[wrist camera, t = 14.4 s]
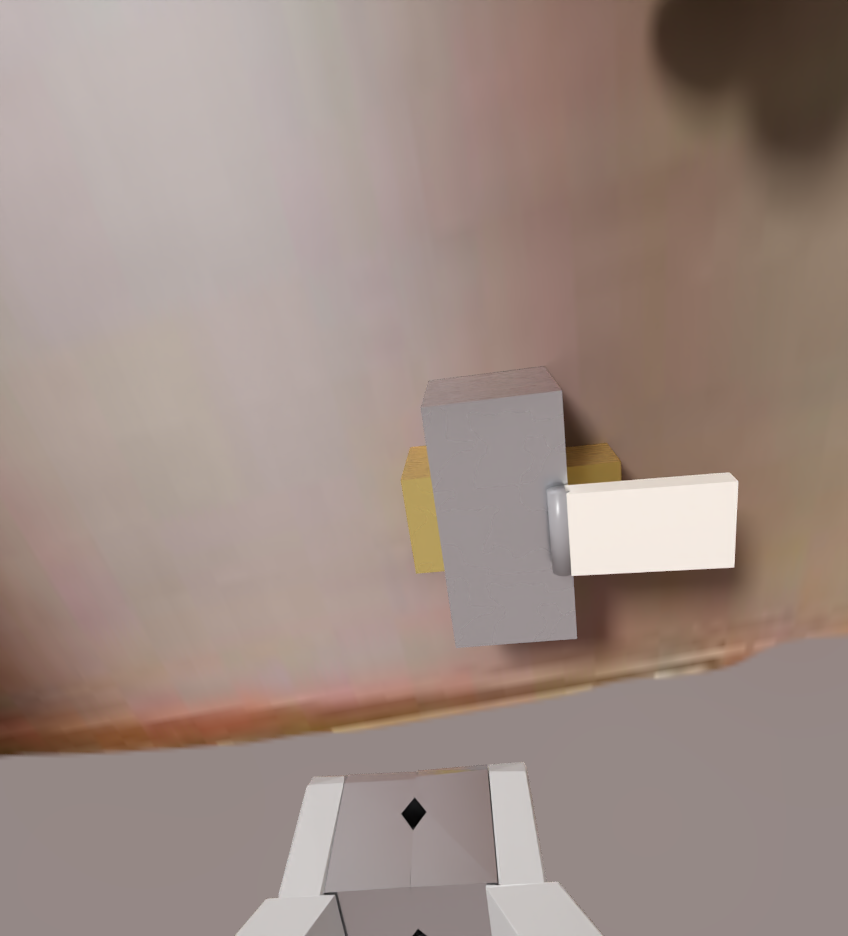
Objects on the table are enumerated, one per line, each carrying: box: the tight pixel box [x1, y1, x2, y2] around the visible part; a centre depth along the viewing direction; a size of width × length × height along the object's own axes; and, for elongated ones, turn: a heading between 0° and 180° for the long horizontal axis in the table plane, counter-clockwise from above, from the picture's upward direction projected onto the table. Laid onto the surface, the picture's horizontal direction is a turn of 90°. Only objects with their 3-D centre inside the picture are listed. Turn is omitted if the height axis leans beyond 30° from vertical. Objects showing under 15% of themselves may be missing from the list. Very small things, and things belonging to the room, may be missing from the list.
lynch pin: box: [401, 443, 621, 574], centre depth 29 cm, size 10×5×5 cm, turn 98°
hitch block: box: [421, 366, 577, 648], centre depth 29 cm, size 6×12×6 cm, turn 8°
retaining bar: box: [547, 472, 738, 576], centre depth 25 cm, size 1×4×8 cm
